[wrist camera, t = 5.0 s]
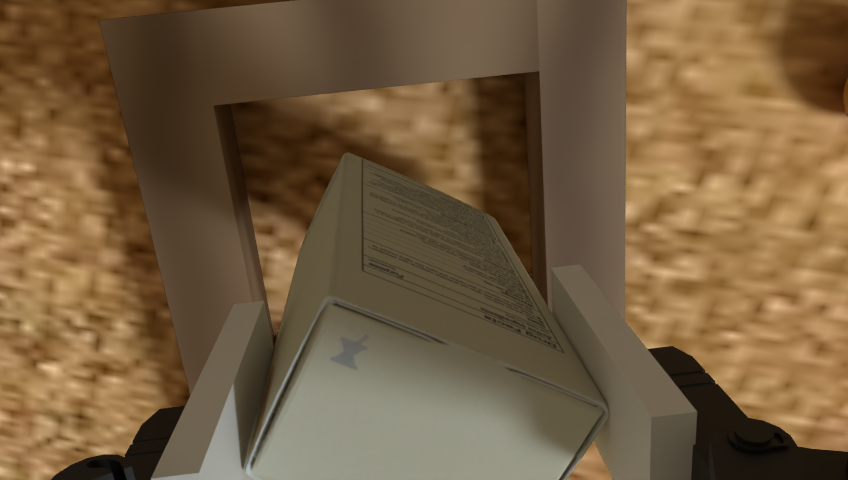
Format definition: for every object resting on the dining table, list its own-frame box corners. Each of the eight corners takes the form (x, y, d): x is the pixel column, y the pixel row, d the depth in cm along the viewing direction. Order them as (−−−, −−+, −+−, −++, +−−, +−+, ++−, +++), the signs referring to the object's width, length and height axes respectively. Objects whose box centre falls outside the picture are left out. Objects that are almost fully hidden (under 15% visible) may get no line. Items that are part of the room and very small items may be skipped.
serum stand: (601, -29, 24) (626, -33, 22) (603, 380, 30) (623, 412, 27) (126, 19, 23) (98, 19, 21) (220, 428, 29) (207, 465, 27)
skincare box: (296, 252, 24) (219, 475, 13) (345, 145, 23) (308, 285, 11) (454, 318, 25) (513, 576, 14) (507, 220, 24) (620, 413, 13)
